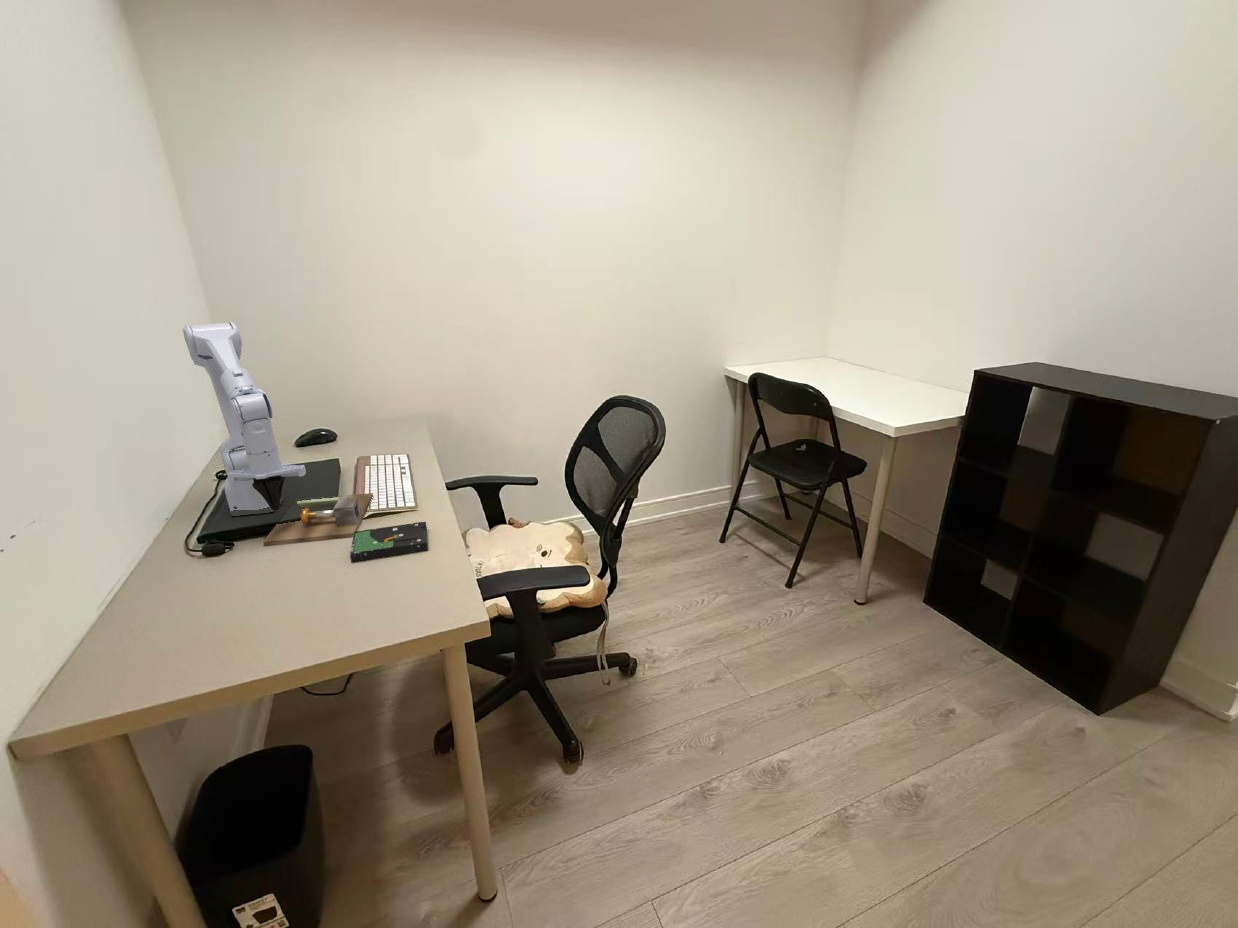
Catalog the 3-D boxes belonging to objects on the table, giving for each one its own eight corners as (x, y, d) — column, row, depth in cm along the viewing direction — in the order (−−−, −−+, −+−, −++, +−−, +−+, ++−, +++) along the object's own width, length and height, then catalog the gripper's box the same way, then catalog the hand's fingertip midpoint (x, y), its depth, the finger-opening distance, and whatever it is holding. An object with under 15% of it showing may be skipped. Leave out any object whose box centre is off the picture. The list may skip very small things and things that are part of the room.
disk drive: (427, 532, 127) (355, 542, 123) (425, 520, 126) (353, 530, 122) (428, 553, 118) (351, 565, 114) (427, 541, 117) (348, 553, 113)
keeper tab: (296, 504, 129) (296, 500, 129) (306, 509, 135) (306, 505, 135) (339, 500, 130) (339, 496, 131) (347, 505, 137) (347, 501, 137)
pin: (302, 526, 126) (299, 512, 124) (307, 519, 129) (303, 506, 128) (342, 522, 127) (339, 508, 126) (345, 516, 130) (342, 502, 129)
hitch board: (264, 546, 121) (258, 523, 119) (296, 503, 141) (291, 483, 139) (354, 536, 124) (349, 514, 122) (373, 496, 144) (369, 477, 142)
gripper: (215, 459, 115) (232, 519, 120) (292, 453, 118) (306, 512, 122) (229, 448, 121) (245, 505, 126) (303, 442, 124) (315, 499, 129)
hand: (276, 508), depth 125 cm, fingers closed
